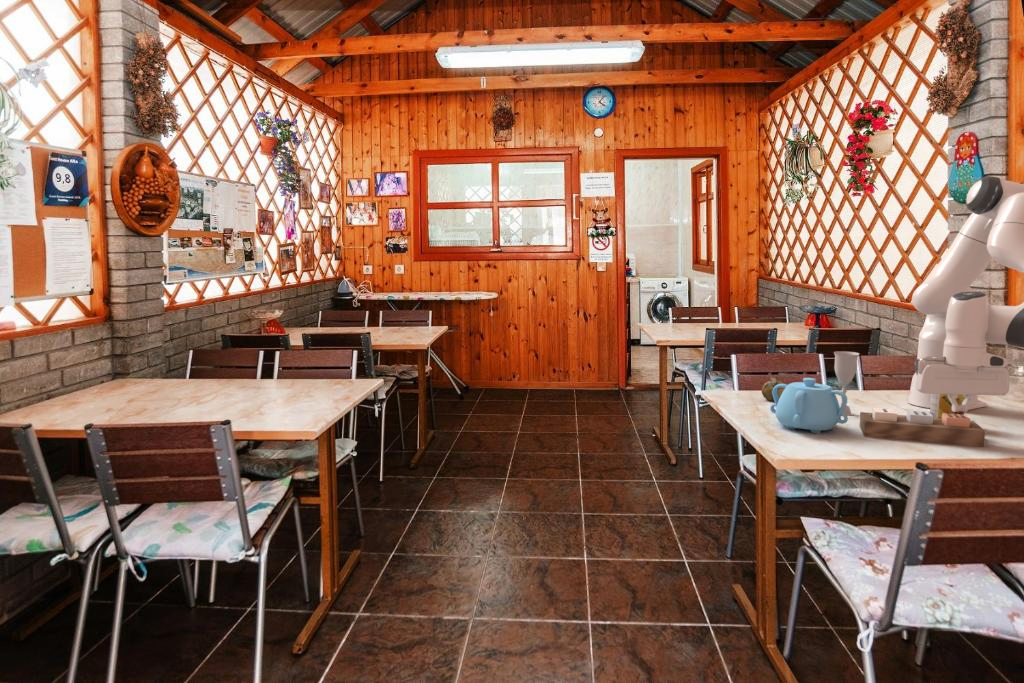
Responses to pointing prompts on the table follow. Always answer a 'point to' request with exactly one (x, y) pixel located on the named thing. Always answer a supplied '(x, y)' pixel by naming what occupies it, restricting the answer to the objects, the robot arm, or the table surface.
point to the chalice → (845, 371)
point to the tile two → (919, 417)
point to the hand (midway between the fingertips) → (959, 411)
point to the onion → (769, 387)
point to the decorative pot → (808, 406)
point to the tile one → (884, 414)
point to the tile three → (955, 420)
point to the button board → (922, 431)
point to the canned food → (943, 405)
